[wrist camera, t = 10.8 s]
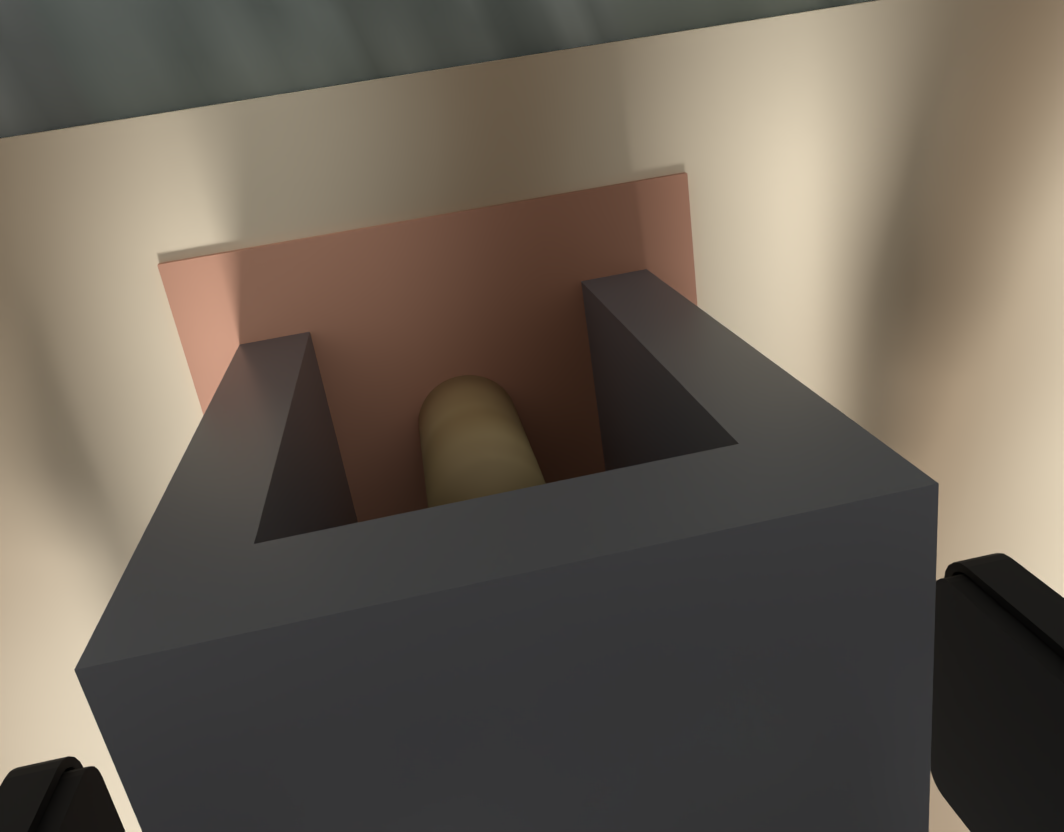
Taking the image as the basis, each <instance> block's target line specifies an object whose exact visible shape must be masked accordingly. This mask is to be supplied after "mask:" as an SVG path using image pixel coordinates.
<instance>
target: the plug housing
mask: <svg viewBox="0 0 1064 832" xmlns="http://www.w3.org/2000/svg"><path fill="white" fill-rule="evenodd" d="M581 284H582V292H583V300H584V307H585V315H586V323H587V331H588V338H589V346H590V354H591V362H592V369H593V377H594V385H595V393H596V400H597V408H598V416H599V424H600V431H601V439H602V447H603V455H604V462H605V470H606V471H605V472H600V473H595V474H590V475H586V476H581V477H576V478H571V479H566V480H561V481H557V482H552V483H547V484H542V485H537V486H532V487H527V488H523V489H518V490H513V491H508V492H503V493H498V494H494V495H489V496H484V497H479V498H474V499H469V500H465V501H460V502H455V503H450V504H445V505H440V506H436V507H431V508H426V509H421V510H416V511H411V512H407V513H402V514H397V515H392V516H387V517H382V518H378V519H373V520H368V521H363V522H358V521H357V517H356V513H355V509H354V505H353V501H352V497H351V493H350V489H349V485H348V481H347V477H346V473H345V469H344V465H343V461H342V457H341V453H340V449H339V445H338V441H337V437H336V434H335V430H334V426H333V422H332V418H331V414H330V410H329V406H328V402H327V398H326V394H325V390H324V386H323V382H322V378H321V374H320V370H319V366H318V362H317V358H316V354H315V350H314V346H313V342H312V338H311V334H310V332H305V333H300V334H294V335H289V336H283V337H278V338H273V339H267V340H262V341H256V342H251V343H246V344H240V345H239V347H238V348H237V350H236V352H235V354H234V356H233V358H232V360H231V362H230V364H229V366H228V368H227V370H226V372H225V374H224V376H223V378H222V380H221V382H220V384H219V386H218V388H217V390H216V392H215V394H214V396H213V398H212V400H211V402H210V404H209V406H208V408H207V410H206V411H205V413H204V415H203V417H202V419H201V421H200V423H199V425H198V427H197V429H196V431H195V433H194V435H193V437H192V439H191V441H190V443H189V445H188V447H187V449H186V451H185V453H184V455H183V457H182V459H181V461H180V463H179V465H178V467H177V469H176V471H175V473H174V474H173V476H172V478H171V480H170V482H169V484H168V486H167V488H166V490H165V492H164V494H163V496H162V498H161V500H160V502H159V504H158V506H157V508H156V510H155V512H154V514H153V516H152V518H151V520H150V522H149V524H148V526H147V528H146V530H145V532H144V534H143V536H142V537H141V539H140V541H139V543H138V545H137V547H136V549H135V551H134V553H133V555H132V557H131V559H130V561H129V563H128V565H127V567H126V569H125V571H124V573H123V575H122V577H121V579H120V581H119V583H118V585H117V587H116V589H115V591H114V593H113V595H112V597H111V599H110V600H109V602H108V604H107V606H106V608H105V610H104V612H103V614H102V616H101V618H100V620H99V622H98V624H97V626H96V628H95V630H94V632H93V634H92V636H91V638H90V640H89V642H88V644H87V646H86V648H85V650H84V652H83V654H82V656H81V658H80V660H79V662H78V663H77V665H76V667H75V669H74V671H75V673H76V675H77V678H78V680H79V683H80V685H81V687H82V690H83V692H84V694H85V697H86V699H87V702H88V704H89V706H90V709H91V711H92V713H93V716H94V718H95V721H96V723H97V725H98V728H99V730H100V733H101V735H102V737H103V740H104V742H105V744H106V747H107V749H108V752H109V754H110V756H111V759H112V761H113V763H114V766H115V768H116V771H117V773H118V775H119V778H120V780H121V783H122V785H123V787H124V790H125V792H126V794H127V797H128V799H129V802H130V804H131V806H132V809H133V811H134V813H135V816H136V818H137V821H138V823H139V825H140V828H141V830H142V832H929V804H930V770H931V736H932V701H933V667H934V632H935V598H936V563H937V529H938V494H939V483H938V482H936V481H935V480H933V479H932V478H931V477H929V476H928V475H927V474H925V473H924V472H923V471H921V470H920V469H918V468H917V467H916V466H914V465H913V464H912V463H910V462H909V461H908V460H906V459H905V458H903V457H902V456H901V455H899V454H898V453H897V452H895V451H894V450H893V449H891V448H890V447H888V446H887V445H886V444H884V443H883V442H882V441H880V440H879V439H878V438H876V437H875V436H873V435H872V434H871V433H869V432H868V431H867V430H865V429H864V428H863V427H861V426H860V425H858V424H857V423H856V422H854V421H853V420H852V419H850V418H849V417H848V416H846V415H845V414H843V413H842V412H841V411H839V410H838V409H837V408H835V407H834V406H833V405H831V404H830V403H828V402H827V401H826V400H824V399H823V398H822V397H820V396H819V395H818V394H816V393H815V392H813V391H812V390H811V389H809V388H808V387H807V386H805V385H804V384H803V383H801V382H800V381H798V380H797V379H796V378H794V377H793V376H792V375H790V374H789V373H788V372H786V371H785V370H784V369H782V368H781V367H779V366H778V365H777V364H775V363H774V362H773V361H771V360H770V359H769V358H767V357H766V356H764V355H763V354H762V353H760V352H759V351H758V350H756V349H755V348H754V347H752V346H751V345H749V344H748V343H747V342H745V341H744V340H743V339H741V338H740V337H739V336H737V335H736V334H734V333H733V332H732V331H730V330H729V329H728V328H726V327H725V326H724V325H722V324H721V323H719V322H718V321H717V320H715V319H714V318H713V317H711V316H710V315H709V314H707V313H706V312H704V311H703V310H702V309H700V308H699V307H698V306H696V305H695V304H694V303H692V302H691V301H689V300H688V299H687V298H685V297H684V296H683V295H681V294H680V293H679V292H677V291H676V290H674V289H673V288H672V287H670V286H669V285H668V284H666V283H665V282H664V281H662V280H661V279H659V278H658V277H657V276H655V275H654V274H653V273H651V272H650V271H649V270H647V269H644V270H639V271H633V272H628V273H623V274H617V275H612V276H607V277H601V278H596V279H590V280H585V281H581Z"/></svg>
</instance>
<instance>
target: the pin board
mask: <svg viewBox="0 0 1064 832" xmlns="http://www.w3.org/2000/svg"><path fill="white" fill-rule="evenodd" d="M644 269H647V270H649V271H650V272H651V273H653V274H654V275H655V276H657V277H658V278H659V279H661V280H662V281H664V282H665V283H666V284H668V285H669V286H670V287H672V288H673V289H674V290H676V291H677V292H679V293H680V294H681V295H683V296H684V297H685V298H687V299H688V300H689V301H691V302H692V303H694V304H695V305H696V306H698V307H699V308H700V309H702V310H703V311H704V312H706V313H707V314H709V315H710V316H711V317H713V318H714V319H715V320H717V321H718V322H719V323H721V324H722V325H724V326H725V327H726V328H728V329H729V330H730V331H732V332H733V333H734V334H736V335H737V336H739V337H740V338H741V339H743V340H744V341H745V342H747V343H748V344H749V345H751V346H752V347H754V348H755V349H756V350H758V351H759V352H760V353H762V354H763V355H764V356H766V357H767V358H769V359H770V360H771V361H773V362H774V363H775V364H777V365H778V366H779V367H781V368H782V369H784V370H785V371H786V372H788V373H789V374H790V375H792V376H793V377H794V378H796V379H797V380H798V381H800V382H801V383H803V384H804V385H805V386H807V387H808V388H809V389H811V390H812V391H813V392H815V393H816V394H818V395H819V396H820V397H822V398H823V399H824V400H826V401H827V402H828V403H830V404H831V405H833V406H834V407H835V408H837V409H838V410H839V411H841V412H842V413H843V414H845V415H846V416H848V417H849V418H850V419H852V420H853V421H854V422H856V423H857V424H858V425H860V426H861V427H863V428H864V429H865V430H867V431H868V432H869V433H871V434H872V435H873V436H875V437H876V438H878V439H879V440H880V441H882V442H883V443H884V444H886V445H887V446H888V447H890V448H891V449H893V450H894V451H895V452H897V453H898V454H899V455H901V456H902V457H903V458H905V459H906V460H908V461H909V462H910V463H912V464H913V465H914V466H916V467H917V468H918V469H920V470H921V471H923V472H924V473H925V474H927V475H928V476H929V477H931V478H932V479H933V480H935V481H936V482H938V483H939V494H938V529H937V563H936V581H937V580H939V579H941V578H944V575H945V571H946V569H947V567H948V565H950V564H951V563H953V562H957V561H962V560H966V559H971V558H976V557H980V556H985V555H989V554H994V553H1004V554H1006V555H1007V556H1009V557H1011V558H1012V559H1014V560H1015V561H1016V562H1018V563H1019V564H1020V565H1022V566H1023V567H1024V568H1025V569H1027V570H1028V571H1029V572H1031V573H1032V574H1033V575H1035V576H1036V577H1037V578H1039V579H1040V580H1041V581H1042V582H1044V583H1045V584H1046V585H1048V586H1049V587H1050V588H1052V589H1053V590H1054V591H1056V592H1057V593H1058V594H1059V595H1061V596H1062V597H1063V598H1064V0H876V1H869V2H863V3H857V4H850V5H844V6H837V7H831V8H825V9H818V10H812V11H806V12H799V13H793V14H787V15H780V16H774V17H768V18H761V19H755V20H749V21H742V22H736V23H729V24H723V25H717V26H710V27H704V28H698V29H691V30H685V31H679V32H672V33H666V34H660V35H653V36H647V37H640V38H634V39H628V40H621V41H615V42H609V43H602V44H596V45H590V46H583V47H577V48H571V49H564V50H558V51H552V52H545V53H539V54H532V55H526V56H520V57H513V58H507V59H501V60H494V61H488V62H482V63H475V64H469V65H463V66H456V67H450V68H444V69H437V70H431V71H424V72H418V73H412V74H405V75H399V76H393V77H386V78H380V79H374V80H367V81H361V82H355V83H348V84H342V85H335V86H329V87H323V88H316V89H310V90H304V91H297V92H291V93H285V94H278V95H272V96H266V97H259V98H253V99H247V100H240V101H234V102H227V103H221V104H215V105H208V106H202V107H196V108H189V109H183V110H177V111H170V112H164V113H158V114H151V115H145V116H139V117H132V118H126V119H119V120H113V121H107V122H100V123H94V124H88V125H81V126H75V127H69V128H62V129H56V130H50V131H43V132H37V133H31V134H24V135H18V136H11V137H5V138H0V785H1V784H2V782H3V780H4V778H5V777H6V776H7V774H8V773H9V772H10V771H11V770H13V769H15V768H17V767H21V766H26V765H31V764H35V763H40V762H44V761H49V760H53V759H58V758H63V757H67V756H72V757H75V758H77V759H78V760H79V761H80V762H81V764H82V766H83V767H88V766H95V767H96V768H97V769H98V770H99V771H100V773H101V775H102V777H103V779H104V782H105V784H106V786H107V789H108V791H109V794H110V796H111V798H112V801H113V803H114V805H115V808H116V810H117V813H118V815H119V817H120V820H121V822H122V824H123V827H124V829H125V832H142V830H141V828H140V825H139V823H138V821H137V818H136V816H135V813H134V811H133V809H132V806H131V804H130V802H129V799H128V797H127V794H126V792H125V790H124V787H123V785H122V783H121V780H120V778H119V775H118V773H117V771H116V768H115V766H114V763H113V761H112V759H111V756H110V754H109V752H108V749H107V747H106V744H105V742H104V740H103V737H102V735H101V733H100V730H99V728H98V725H97V723H96V721H95V718H94V716H93V713H92V711H91V709H90V706H89V704H88V702H87V699H86V697H85V694H84V692H83V690H82V687H81V685H80V683H79V680H78V678H77V675H76V673H75V671H74V669H75V667H76V665H77V663H78V662H79V660H80V658H81V656H82V654H83V652H84V650H85V648H86V646H87V644H88V642H89V640H90V638H91V636H92V634H93V632H94V630H95V628H96V626H97V624H98V622H99V620H100V618H101V616H102V614H103V612H104V610H105V608H106V606H107V604H108V602H109V600H110V599H111V597H112V595H113V593H114V591H115V589H116V587H117V585H118V583H119V581H120V579H121V577H122V575H123V573H124V571H125V569H126V567H127V565H128V563H129V561H130V559H131V557H132V555H133V553H134V551H135V549H136V547H137V545H138V543H139V541H140V539H141V537H142V536H143V534H144V532H145V530H146V528H147V526H148V524H149V522H150V520H151V518H152V516H153V514H154V512H155V510H156V508H157V506H158V504H159V502H160V500H161V498H162V496H163V494H164V492H165V490H166V488H167V486H168V484H169V482H170V480H171V478H172V476H173V474H174V473H175V471H176V469H177V467H178V465H179V463H180V461H181V459H182V457H183V455H184V453H185V451H186V449H187V447H188V445H189V443H190V441H191V439H192V437H193V435H194V433H195V431H196V429H197V427H198V425H199V423H200V421H201V419H202V417H203V415H204V413H205V411H206V410H207V408H208V406H209V404H210V402H211V400H212V398H213V396H214V394H215V392H216V390H217V388H218V386H219V384H220V382H221V380H222V378H223V376H224V374H225V372H226V370H227V368H228V366H229V364H230V362H231V360H232V358H233V356H234V354H235V352H236V350H237V348H238V347H239V345H240V344H246V343H251V342H256V341H262V340H267V339H273V338H278V337H283V336H289V335H294V334H300V333H305V332H310V334H311V338H312V342H313V346H314V350H315V354H316V358H317V362H318V366H319V370H320V374H321V378H322V382H323V386H324V390H325V394H326V398H327V402H328V406H329V410H330V414H331V418H332V422H333V426H334V430H335V434H336V437H337V441H338V445H339V449H340V453H341V457H342V461H343V465H344V469H345V473H346V477H347V481H348V485H349V489H350V493H351V497H352V501H353V505H354V509H355V513H356V517H357V521H358V522H363V521H368V520H373V519H378V518H382V517H387V516H392V515H397V514H402V513H407V512H411V511H416V510H421V509H426V508H431V507H436V506H440V505H445V504H450V503H455V502H460V501H465V500H469V499H474V498H479V497H484V496H489V495H494V494H498V493H503V492H508V491H513V490H518V489H523V488H527V487H532V486H537V485H542V484H547V483H552V482H557V481H561V480H566V479H571V478H576V477H581V476H586V475H590V474H595V473H600V472H605V471H606V470H605V462H604V455H603V447H602V439H601V431H600V424H599V416H598V408H597V400H596V393H595V385H594V377H593V369H592V362H591V354H590V346H589V338H588V331H587V323H586V315H585V307H584V300H583V292H582V284H581V281H585V280H590V279H596V278H601V277H607V276H612V275H617V274H623V273H628V272H633V271H639V270H644ZM929 832H970V831H969V829H968V828H967V827H966V826H965V824H964V823H963V822H962V820H961V819H960V818H959V817H958V815H957V814H956V813H955V811H954V810H953V809H952V808H951V806H950V805H949V804H948V802H947V801H946V800H945V799H944V797H943V796H942V794H941V793H940V791H939V790H938V788H937V786H936V784H935V782H934V780H933V777H932V774H931V770H930V804H929Z"/></svg>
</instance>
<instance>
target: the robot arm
mask: <svg viewBox="0 0 1064 832" xmlns="http://www.w3.org/2000/svg"><path fill="white" fill-rule="evenodd" d="M931 774H932V777H933V780H934V782H935V784H936V786H937V788H938V790H939V791H940V793H941V794H942V796H943V797H944V799H945V800H946V801H947V802H948V804H949V805H950V806H951V808H952V809H953V810H954V811H955V813H956V814H957V815H958V817H959V818H960V819H961V820H962V822H963V823H964V824H965V826H966V827H967V828H968V829H969V831H970V832H1064V598H1063V597H1062V596H1061V595H1059V594H1058V593H1057V592H1056V591H1054V590H1053V589H1052V588H1050V587H1049V586H1048V585H1046V584H1045V583H1044V582H1042V581H1041V580H1040V579H1039V578H1037V577H1036V576H1035V575H1033V574H1032V573H1031V572H1029V571H1028V570H1027V569H1025V568H1024V567H1023V566H1022V565H1020V564H1019V563H1018V562H1016V561H1015V560H1014V559H1012V558H1011V557H1009V556H1007V555H1006V554H1004V553H994V554H989V555H985V556H980V557H976V558H971V559H966V560H962V561H957V562H953V563H951V564H950V565H948V567H947V569H946V571H945V575H944V578H941V579H939V580H937V581H936V598H935V632H934V667H933V701H932V736H931ZM0 832H125V829H124V827H123V824H122V822H121V820H120V817H119V815H118V813H117V810H116V808H115V805H114V803H113V801H112V798H111V796H110V794H109V791H108V789H107V786H106V784H105V782H104V779H103V777H102V775H101V773H100V771H99V770H98V769H97V768H96V767H95V766H88V767H83V766H82V764H81V762H80V761H79V760H78V759H77V758H75V757H72V756H67V757H63V758H58V759H53V760H49V761H44V762H40V763H35V764H31V765H26V766H21V767H17V768H15V769H13V770H11V771H10V772H9V773H8V774H7V776H6V777H5V778H4V780H3V782H2V784H1V785H0Z"/></svg>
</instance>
